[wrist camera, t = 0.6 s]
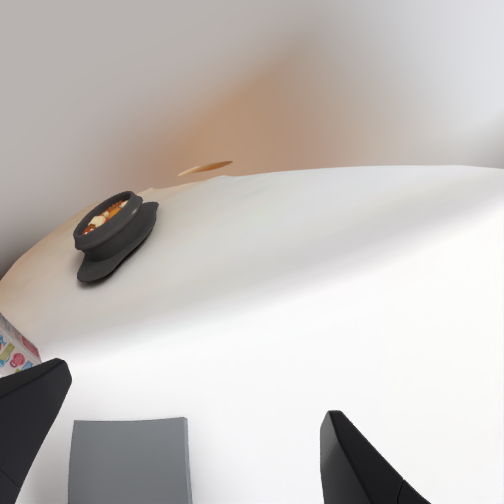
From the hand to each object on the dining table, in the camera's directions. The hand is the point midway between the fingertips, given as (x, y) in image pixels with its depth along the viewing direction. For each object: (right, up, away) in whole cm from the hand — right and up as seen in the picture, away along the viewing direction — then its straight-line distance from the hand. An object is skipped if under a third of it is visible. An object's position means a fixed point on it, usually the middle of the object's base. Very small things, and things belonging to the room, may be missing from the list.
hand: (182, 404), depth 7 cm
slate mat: (-11, -17, +10) cm, 23 cm away
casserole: (-25, +6, +46) cm, 52 cm away
